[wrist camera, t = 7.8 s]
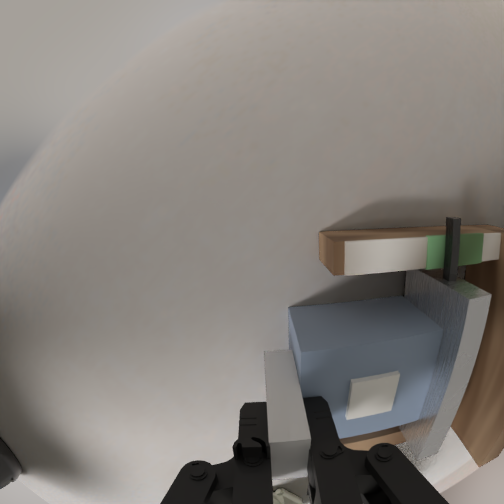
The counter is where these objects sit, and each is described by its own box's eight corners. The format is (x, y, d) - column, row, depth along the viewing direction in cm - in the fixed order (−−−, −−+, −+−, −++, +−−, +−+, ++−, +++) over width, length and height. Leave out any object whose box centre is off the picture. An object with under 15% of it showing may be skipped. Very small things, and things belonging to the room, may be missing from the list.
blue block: (289, 389, 18) (298, 448, 12) (288, 306, 16) (301, 356, 11) (388, 374, 17) (419, 423, 12) (400, 294, 16) (446, 332, 11)
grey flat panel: (385, 403, 17) (416, 460, 12) (408, 211, 15) (477, 225, 9) (403, 398, 17) (436, 453, 11) (429, 211, 15) (499, 225, 9)
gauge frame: (312, 431, 18) (331, 519, 10) (318, 230, 15) (380, 272, 7) (452, 397, 18) (498, 456, 10) (487, 224, 15) (575, 247, 7)
